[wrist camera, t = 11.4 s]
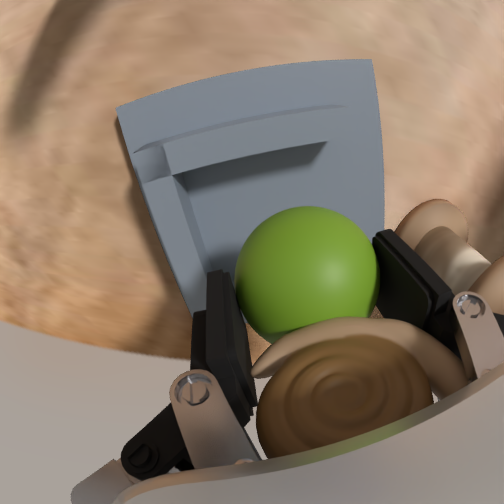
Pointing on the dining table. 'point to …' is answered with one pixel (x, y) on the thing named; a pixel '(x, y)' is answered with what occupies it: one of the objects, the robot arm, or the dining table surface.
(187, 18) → the dining table surface
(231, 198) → the grey walled base plate
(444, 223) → the bobbin
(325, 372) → the snail figurine
